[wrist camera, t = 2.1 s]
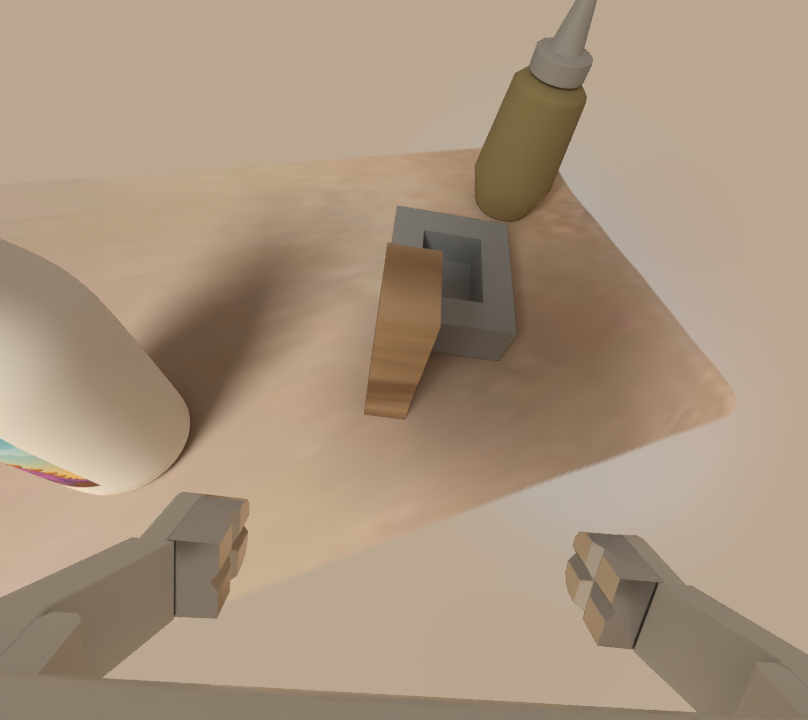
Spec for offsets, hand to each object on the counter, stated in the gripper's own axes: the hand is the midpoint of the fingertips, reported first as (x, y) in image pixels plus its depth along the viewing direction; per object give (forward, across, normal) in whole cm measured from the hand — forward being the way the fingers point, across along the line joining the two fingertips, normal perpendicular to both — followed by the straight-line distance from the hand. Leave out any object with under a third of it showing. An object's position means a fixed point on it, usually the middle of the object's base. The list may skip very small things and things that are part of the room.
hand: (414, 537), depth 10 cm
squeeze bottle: (+37, -10, -14) cm, 41 cm away
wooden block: (+20, 0, +3) cm, 21 cm away
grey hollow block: (+27, -4, -4) cm, 28 cm away
